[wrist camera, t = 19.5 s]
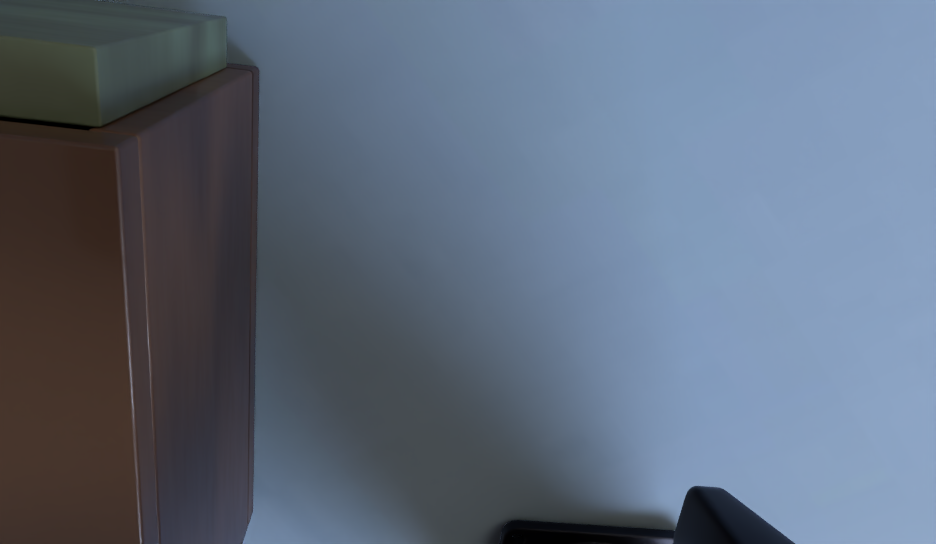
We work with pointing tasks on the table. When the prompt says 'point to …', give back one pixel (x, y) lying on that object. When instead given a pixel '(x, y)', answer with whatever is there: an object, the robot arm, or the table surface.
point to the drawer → (99, 59)
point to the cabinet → (131, 322)
